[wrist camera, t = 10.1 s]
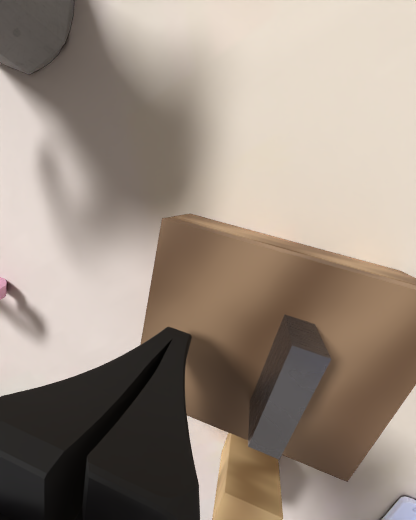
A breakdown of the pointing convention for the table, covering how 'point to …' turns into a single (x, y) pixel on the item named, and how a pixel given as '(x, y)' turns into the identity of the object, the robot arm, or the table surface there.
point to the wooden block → (247, 484)
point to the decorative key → (3, 288)
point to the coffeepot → (33, 32)
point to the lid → (284, 344)
